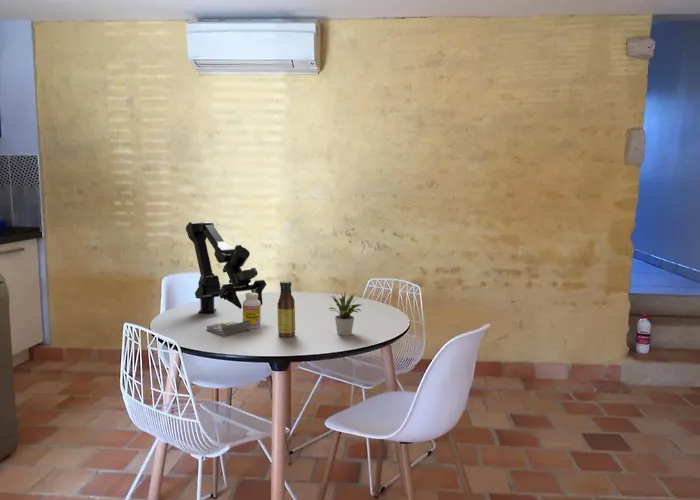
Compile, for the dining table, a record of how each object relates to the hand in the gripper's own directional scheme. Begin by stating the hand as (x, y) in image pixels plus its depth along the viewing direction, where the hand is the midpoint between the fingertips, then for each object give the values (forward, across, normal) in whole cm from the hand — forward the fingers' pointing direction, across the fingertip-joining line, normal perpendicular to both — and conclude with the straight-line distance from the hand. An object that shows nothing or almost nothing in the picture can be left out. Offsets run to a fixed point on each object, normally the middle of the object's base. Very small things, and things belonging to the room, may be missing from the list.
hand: (251, 306), depth 206 cm
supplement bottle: (+6, 0, +6) cm, 8 cm away
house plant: (+27, +19, -15) cm, 36 cm away
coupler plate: (+5, -10, +6) cm, 13 cm away
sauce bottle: (+19, +3, -7) cm, 20 cm away
